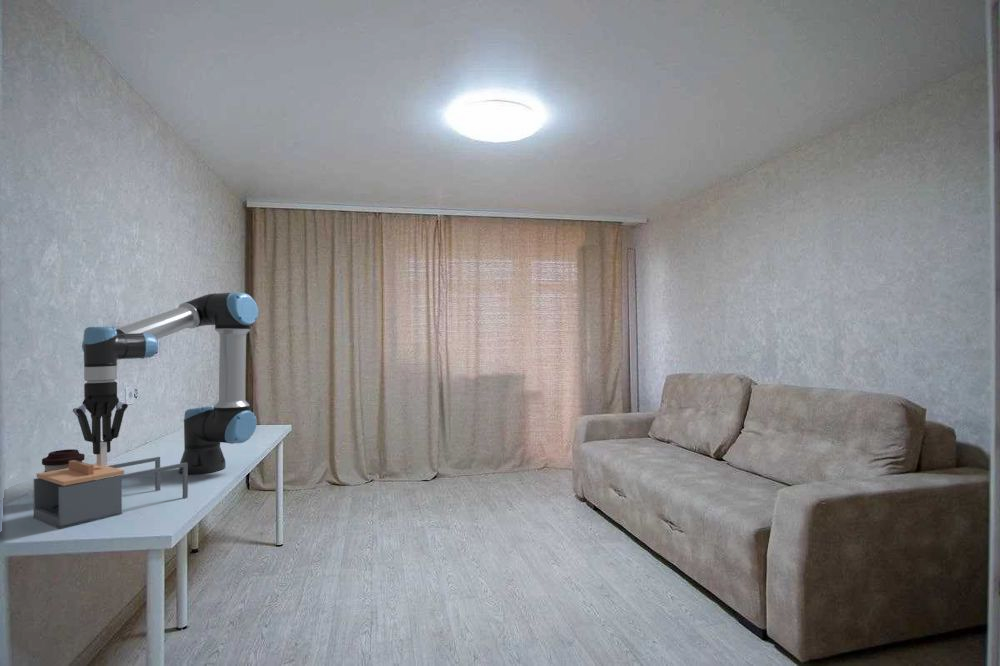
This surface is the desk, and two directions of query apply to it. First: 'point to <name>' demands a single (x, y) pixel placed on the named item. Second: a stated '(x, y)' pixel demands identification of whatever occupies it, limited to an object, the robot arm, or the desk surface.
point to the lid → (79, 473)
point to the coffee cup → (61, 459)
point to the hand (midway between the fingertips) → (101, 464)
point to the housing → (90, 496)
